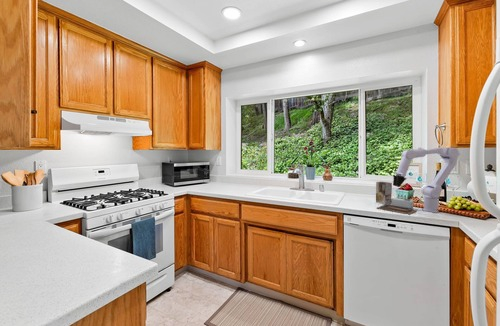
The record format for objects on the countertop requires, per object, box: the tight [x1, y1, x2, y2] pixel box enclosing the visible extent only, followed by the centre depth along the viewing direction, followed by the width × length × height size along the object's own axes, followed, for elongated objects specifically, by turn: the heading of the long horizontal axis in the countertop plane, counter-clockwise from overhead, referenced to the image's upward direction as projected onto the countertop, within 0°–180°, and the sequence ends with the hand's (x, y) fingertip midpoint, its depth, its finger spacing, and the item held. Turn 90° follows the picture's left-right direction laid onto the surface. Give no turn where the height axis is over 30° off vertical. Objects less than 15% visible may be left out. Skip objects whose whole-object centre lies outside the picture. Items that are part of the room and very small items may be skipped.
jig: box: [376, 204, 417, 215], centre depth 164 cm, size 13×20×2 cm, turn 37°
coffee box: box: [375, 181, 393, 205], centre depth 185 cm, size 9×6×16 cm
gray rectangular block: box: [391, 197, 414, 210], centre depth 170 cm, size 5×12×7 cm, turn 37°
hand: (396, 186), depth 163 cm, fingers open, 7 cm apart
